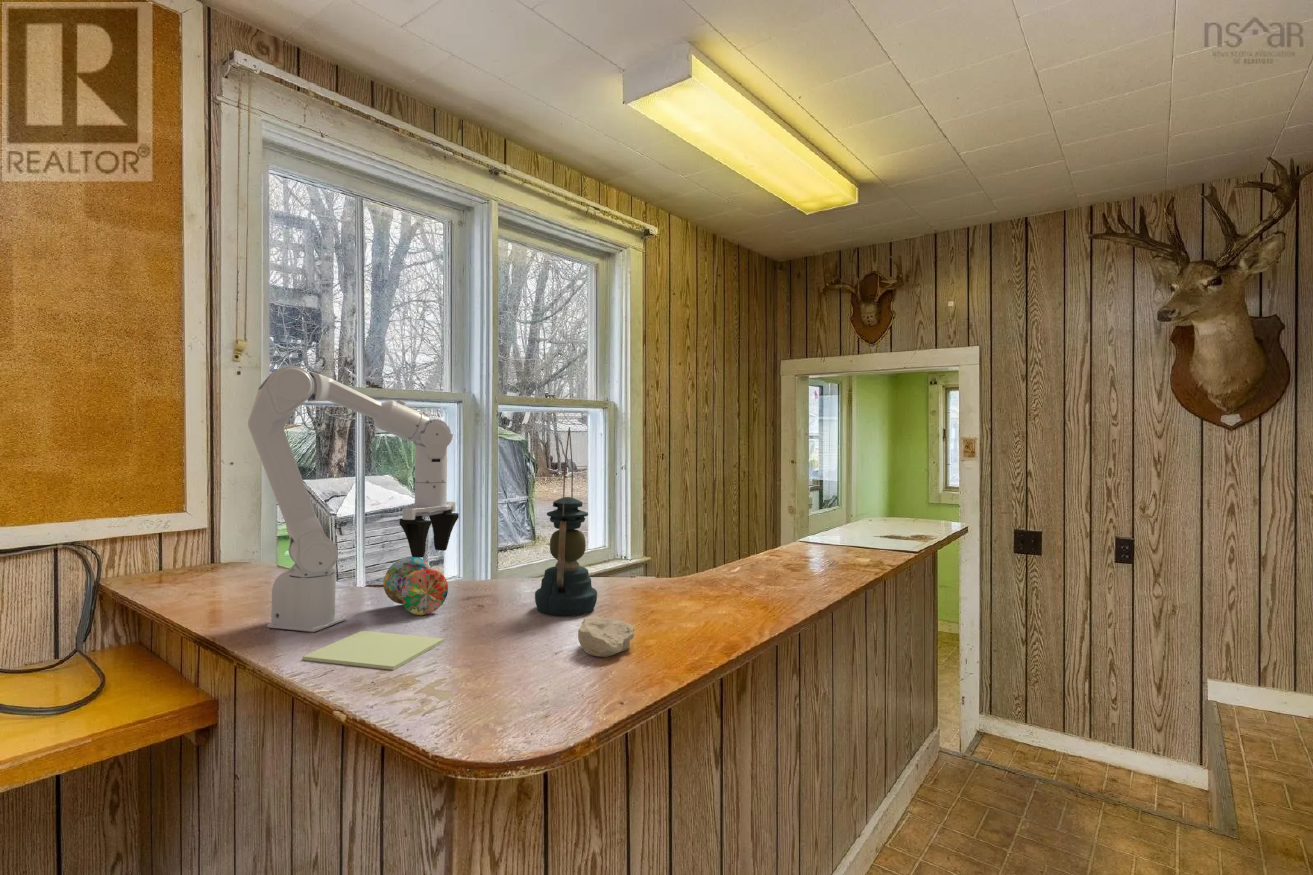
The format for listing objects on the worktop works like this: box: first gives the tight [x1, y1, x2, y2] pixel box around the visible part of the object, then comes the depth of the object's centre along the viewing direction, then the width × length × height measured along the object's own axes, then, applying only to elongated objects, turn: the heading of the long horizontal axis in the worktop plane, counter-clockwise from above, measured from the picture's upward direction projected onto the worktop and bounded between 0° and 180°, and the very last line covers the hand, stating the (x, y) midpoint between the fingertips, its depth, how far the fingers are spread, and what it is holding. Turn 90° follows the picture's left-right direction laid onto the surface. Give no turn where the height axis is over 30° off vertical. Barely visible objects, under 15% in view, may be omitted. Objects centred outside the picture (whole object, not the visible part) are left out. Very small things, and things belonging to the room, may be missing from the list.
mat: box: [302, 630, 445, 671], centre depth 99 cm, size 15×13×1 cm
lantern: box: [534, 426, 598, 618], centre depth 124 cm, size 14×12×35 cm
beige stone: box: [577, 615, 635, 658], centre depth 101 cm, size 9×6×10 cm
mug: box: [383, 555, 449, 616], centre depth 122 cm, size 12×9×11 cm
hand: (429, 553), depth 123 cm, fingers open, 7 cm apart
